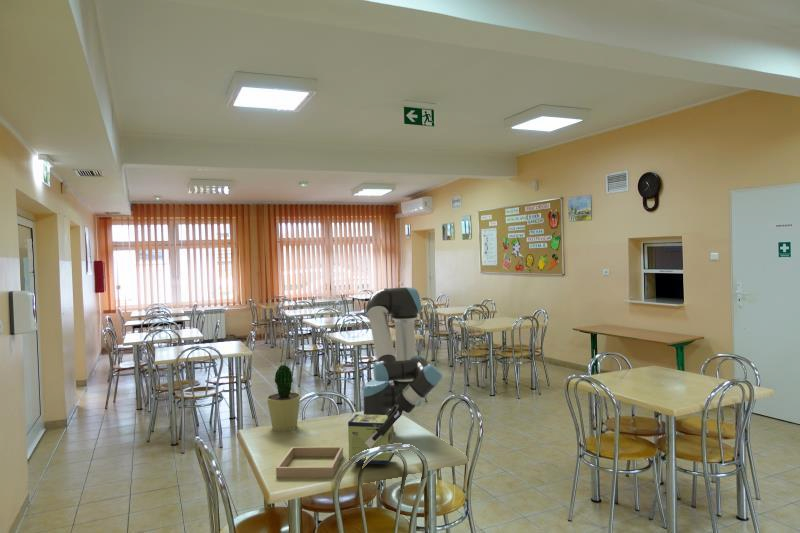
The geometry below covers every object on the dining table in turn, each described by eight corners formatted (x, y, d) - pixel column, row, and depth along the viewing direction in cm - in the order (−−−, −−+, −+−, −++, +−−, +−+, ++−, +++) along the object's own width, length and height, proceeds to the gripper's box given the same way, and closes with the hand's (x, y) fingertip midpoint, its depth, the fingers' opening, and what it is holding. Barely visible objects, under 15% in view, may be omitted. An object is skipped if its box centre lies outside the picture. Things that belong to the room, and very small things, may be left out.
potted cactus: (265, 425, 261) (263, 362, 260) (297, 420, 267) (295, 359, 267) (271, 434, 247) (269, 368, 246) (304, 429, 253) (302, 364, 252)
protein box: (389, 464, 201) (387, 422, 201) (348, 463, 204) (347, 421, 204) (394, 454, 211) (393, 414, 211) (356, 453, 214) (354, 413, 214)
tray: (343, 455, 217) (342, 446, 217) (332, 477, 196) (332, 467, 196) (292, 455, 219) (291, 447, 219) (276, 477, 197) (276, 467, 197)
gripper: (414, 414, 194) (373, 458, 195) (417, 397, 218) (380, 436, 219) (399, 399, 194) (357, 443, 196) (403, 384, 218) (366, 423, 219)
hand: (369, 439), depth 207 cm, fingers closed on protein box, 11 cm apart
